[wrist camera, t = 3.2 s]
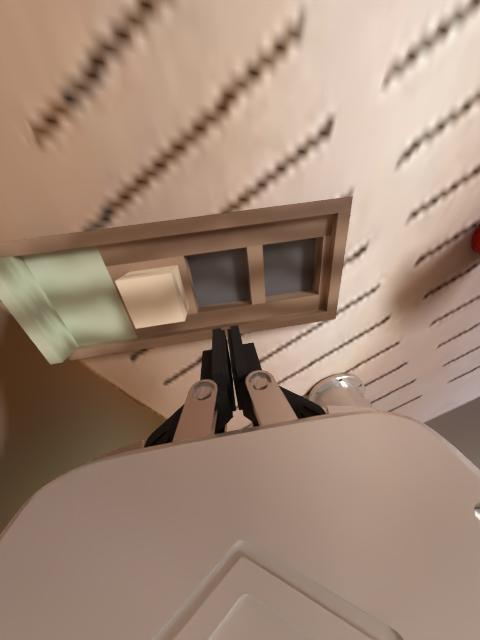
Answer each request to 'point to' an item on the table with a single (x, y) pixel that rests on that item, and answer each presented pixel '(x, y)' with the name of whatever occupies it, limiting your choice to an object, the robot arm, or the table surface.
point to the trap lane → (195, 270)
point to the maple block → (154, 296)
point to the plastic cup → (476, 241)
